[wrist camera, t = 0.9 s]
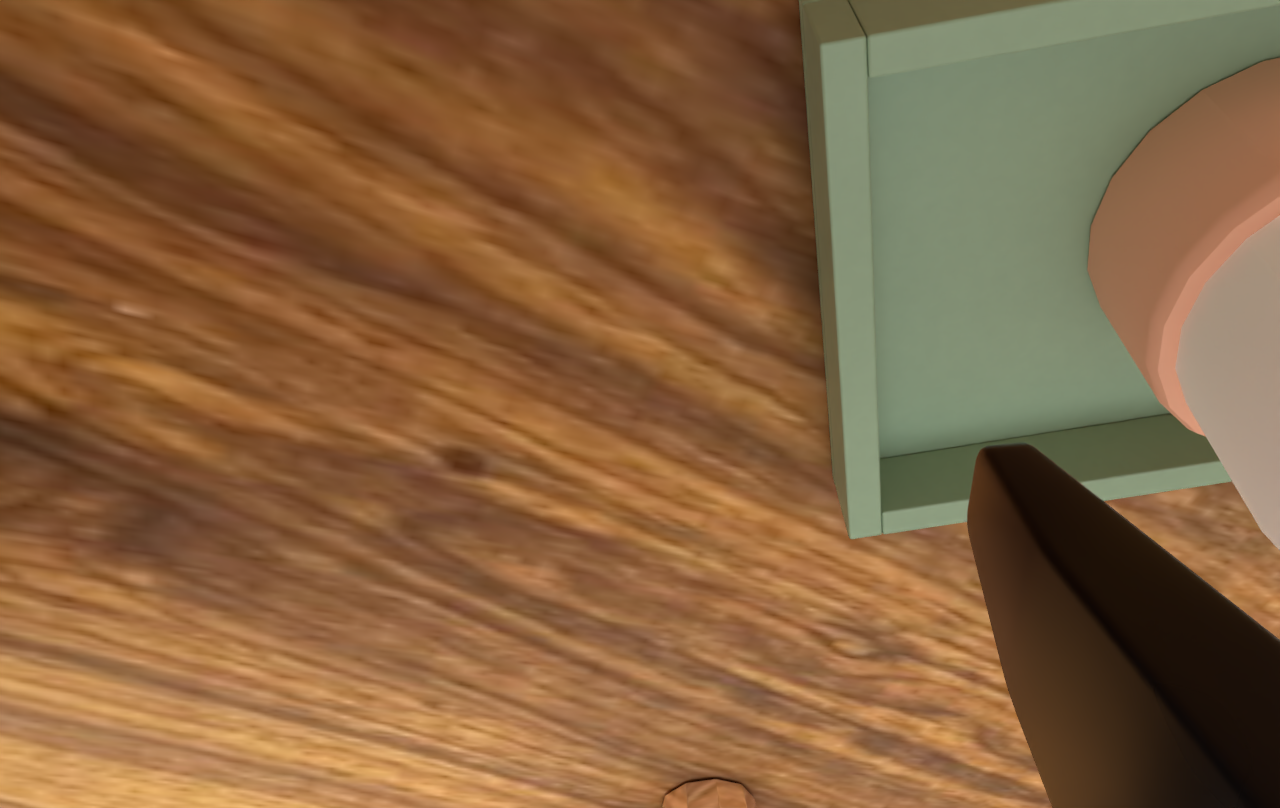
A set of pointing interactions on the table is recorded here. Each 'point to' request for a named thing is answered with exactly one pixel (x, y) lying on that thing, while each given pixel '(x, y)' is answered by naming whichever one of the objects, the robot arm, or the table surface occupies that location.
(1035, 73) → the tray
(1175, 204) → the pepper shaker
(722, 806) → the milkshake
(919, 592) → the table surface
